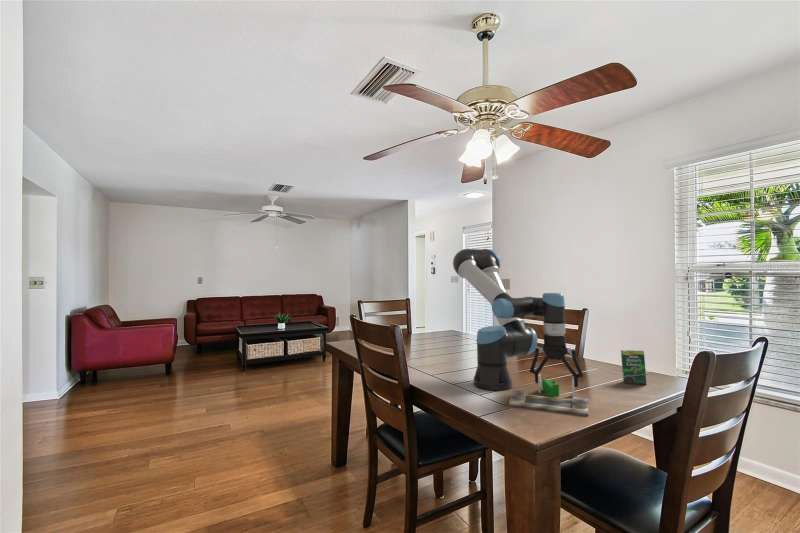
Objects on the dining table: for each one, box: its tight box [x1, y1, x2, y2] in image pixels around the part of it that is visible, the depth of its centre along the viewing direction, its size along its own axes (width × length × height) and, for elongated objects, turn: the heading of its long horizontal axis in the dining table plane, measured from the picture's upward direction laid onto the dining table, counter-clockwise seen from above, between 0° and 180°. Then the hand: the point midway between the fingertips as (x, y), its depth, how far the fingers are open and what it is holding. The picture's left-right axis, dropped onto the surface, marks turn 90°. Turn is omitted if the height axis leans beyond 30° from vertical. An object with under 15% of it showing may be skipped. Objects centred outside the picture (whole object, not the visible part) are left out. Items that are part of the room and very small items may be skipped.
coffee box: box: [620, 349, 647, 385], centre depth 148 cm, size 8×3×13 cm, turn 63°
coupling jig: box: [508, 390, 590, 417], centre depth 124 cm, size 25×10×4 cm, turn 65°
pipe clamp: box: [541, 377, 560, 398], centre depth 136 cm, size 11×4×5 cm, turn 173°
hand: (556, 393), depth 135 cm, fingers open, 11 cm apart
